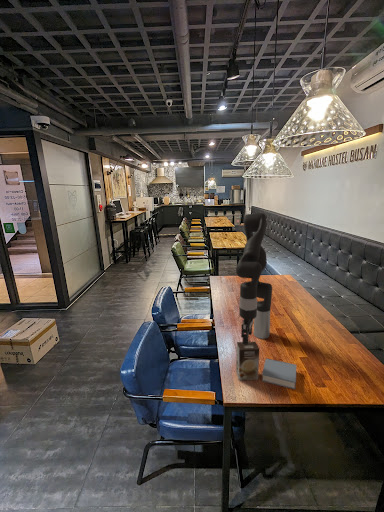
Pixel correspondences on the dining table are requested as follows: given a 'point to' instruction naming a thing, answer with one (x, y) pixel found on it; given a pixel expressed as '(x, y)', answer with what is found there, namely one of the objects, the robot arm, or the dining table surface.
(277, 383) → the book
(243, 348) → the coffee box
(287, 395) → the dining table surface
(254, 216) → the robot arm
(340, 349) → the dining table surface
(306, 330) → the dining table surface
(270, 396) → the dining table surface
